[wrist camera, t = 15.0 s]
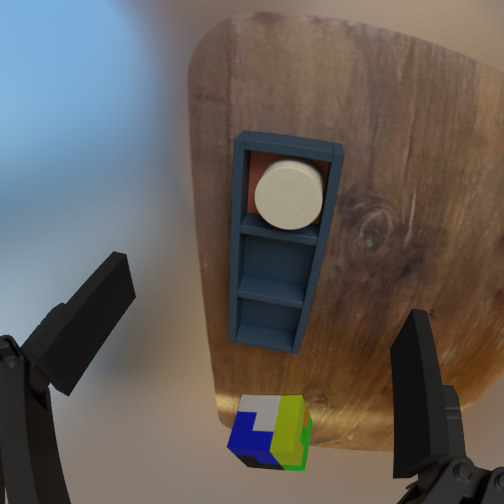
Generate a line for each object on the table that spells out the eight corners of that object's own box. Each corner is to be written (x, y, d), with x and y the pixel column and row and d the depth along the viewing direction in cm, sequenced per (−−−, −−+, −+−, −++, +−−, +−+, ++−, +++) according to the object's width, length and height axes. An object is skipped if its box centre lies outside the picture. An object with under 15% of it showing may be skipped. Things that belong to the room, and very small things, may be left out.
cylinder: (327, 159, 23) (327, 173, 21) (317, 214, 26) (316, 234, 23) (265, 150, 24) (256, 162, 21) (260, 205, 27) (252, 224, 24)
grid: (342, 144, 23) (344, 154, 21) (300, 334, 36) (298, 354, 34) (243, 130, 24) (233, 138, 22) (235, 322, 37) (228, 341, 35)
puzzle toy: (242, 394, 47) (226, 447, 39) (302, 394, 44) (292, 452, 36) (259, 420, 52) (248, 467, 44) (312, 421, 49) (304, 470, 40)
